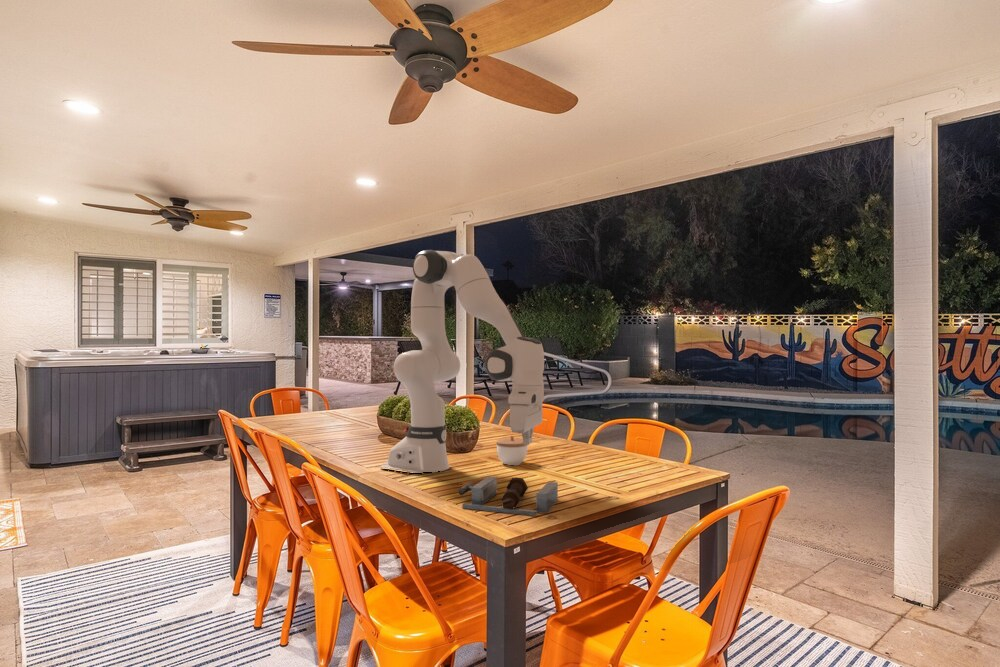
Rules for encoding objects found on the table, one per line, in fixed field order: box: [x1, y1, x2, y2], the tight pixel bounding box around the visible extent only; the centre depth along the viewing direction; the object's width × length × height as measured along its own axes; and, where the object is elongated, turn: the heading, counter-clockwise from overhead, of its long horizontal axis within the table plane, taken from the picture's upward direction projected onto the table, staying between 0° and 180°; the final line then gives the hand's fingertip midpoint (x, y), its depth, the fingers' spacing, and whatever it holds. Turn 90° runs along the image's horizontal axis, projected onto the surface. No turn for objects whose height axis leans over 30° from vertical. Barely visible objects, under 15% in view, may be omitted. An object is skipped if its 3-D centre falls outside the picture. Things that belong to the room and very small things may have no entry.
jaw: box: [457, 476, 498, 505], centre depth 149 cm, size 8×12×4 cm, turn 161°
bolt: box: [501, 477, 529, 509], centre depth 146 cm, size 6×5×15 cm
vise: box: [461, 481, 559, 517], centre depth 145 cm, size 21×15×5 cm
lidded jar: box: [495, 435, 528, 466], centre depth 192 cm, size 11×11×9 cm
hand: (527, 444), depth 158 cm, fingers closed
